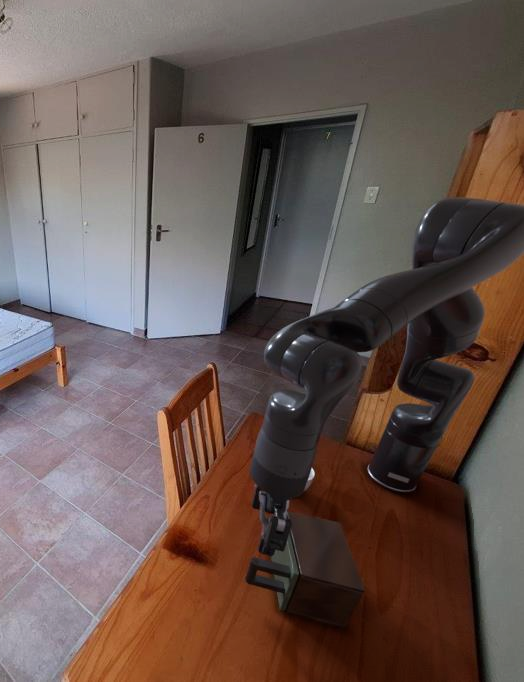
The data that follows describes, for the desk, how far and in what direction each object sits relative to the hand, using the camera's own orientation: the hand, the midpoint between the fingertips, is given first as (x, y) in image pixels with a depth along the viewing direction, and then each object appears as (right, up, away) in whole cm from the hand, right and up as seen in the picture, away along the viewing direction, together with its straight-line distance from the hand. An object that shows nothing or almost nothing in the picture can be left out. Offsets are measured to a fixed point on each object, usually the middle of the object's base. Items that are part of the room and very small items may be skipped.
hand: (261, 528), depth 61 cm
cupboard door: (+5, -14, +11) cm, 19 cm away
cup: (+21, -5, +28) cm, 36 cm away
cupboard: (+13, -15, +9) cm, 22 cm away
